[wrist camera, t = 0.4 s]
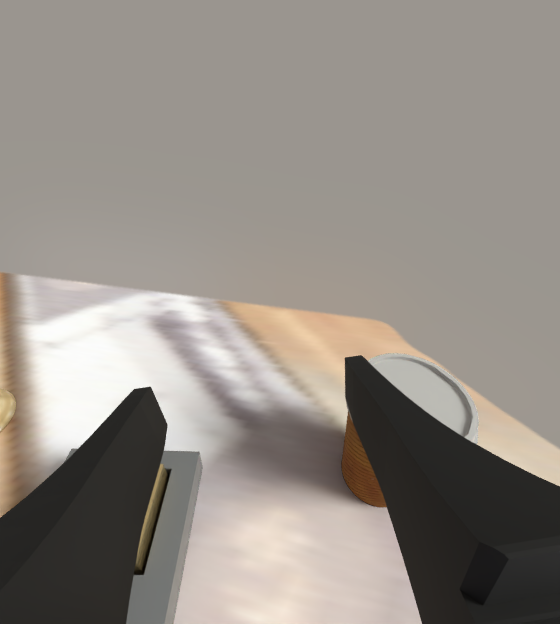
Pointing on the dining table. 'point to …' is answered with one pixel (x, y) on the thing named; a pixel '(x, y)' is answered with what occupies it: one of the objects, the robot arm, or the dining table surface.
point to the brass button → (151, 520)
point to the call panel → (167, 543)
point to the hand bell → (6, 408)
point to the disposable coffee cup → (425, 393)
